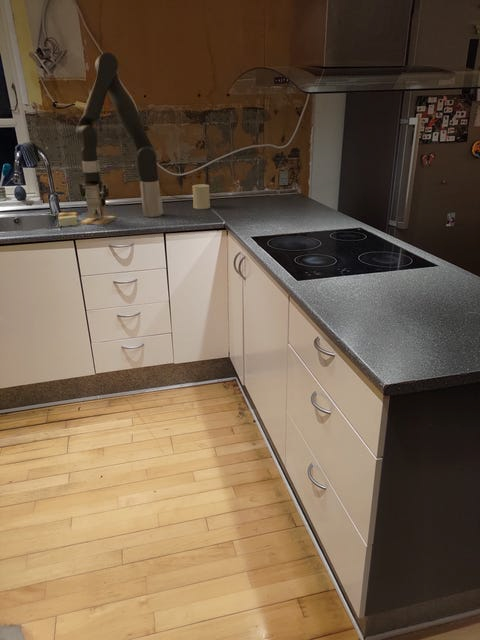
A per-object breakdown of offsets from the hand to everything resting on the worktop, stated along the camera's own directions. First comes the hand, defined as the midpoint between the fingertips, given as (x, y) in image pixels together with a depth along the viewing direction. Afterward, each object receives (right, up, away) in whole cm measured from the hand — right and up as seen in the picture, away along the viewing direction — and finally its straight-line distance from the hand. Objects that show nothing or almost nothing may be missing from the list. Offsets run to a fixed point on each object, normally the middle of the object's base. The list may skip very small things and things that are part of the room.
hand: (96, 205), depth 236 cm
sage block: (-13, -10, -3) cm, 16 cm away
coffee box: (0, -5, +2) cm, 5 cm away
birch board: (0, -7, +3) cm, 7 cm away
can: (+49, +6, +29) cm, 57 cm away
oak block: (-15, -7, +4) cm, 17 cm away
